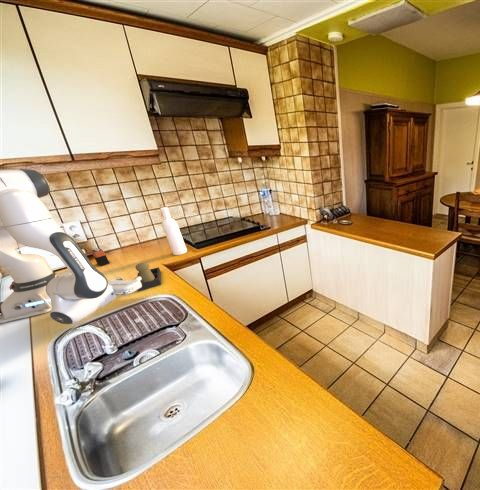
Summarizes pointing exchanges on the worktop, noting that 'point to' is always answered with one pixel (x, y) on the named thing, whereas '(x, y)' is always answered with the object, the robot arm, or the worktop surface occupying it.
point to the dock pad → (157, 275)
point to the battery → (100, 256)
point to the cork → (145, 272)
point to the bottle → (173, 233)
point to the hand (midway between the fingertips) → (130, 278)
